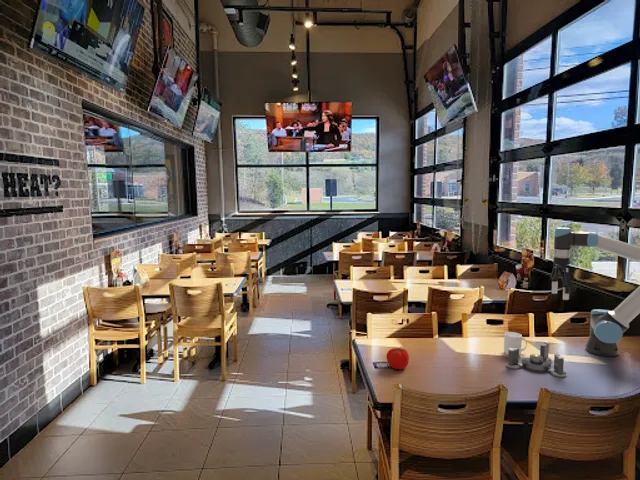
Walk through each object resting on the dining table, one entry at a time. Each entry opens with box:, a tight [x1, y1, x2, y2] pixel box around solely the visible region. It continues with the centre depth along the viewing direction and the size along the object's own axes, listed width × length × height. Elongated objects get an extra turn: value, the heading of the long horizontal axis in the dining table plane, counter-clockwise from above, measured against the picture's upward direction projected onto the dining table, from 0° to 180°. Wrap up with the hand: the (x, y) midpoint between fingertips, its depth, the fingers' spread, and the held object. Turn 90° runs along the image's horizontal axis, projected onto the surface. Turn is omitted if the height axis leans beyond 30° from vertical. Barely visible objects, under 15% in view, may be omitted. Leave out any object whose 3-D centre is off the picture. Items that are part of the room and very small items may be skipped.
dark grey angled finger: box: [507, 347, 520, 366], centre depth 218 cm, size 6×2×8 cm, turn 125°
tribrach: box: [505, 353, 567, 378], centre depth 217 cm, size 25×24×6 cm
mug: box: [503, 331, 528, 356], centre depth 235 cm, size 9×12×11 cm
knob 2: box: [539, 340, 550, 360], centre depth 224 cm, size 6×2×8 cm, turn 134°
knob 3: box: [553, 353, 565, 374], centre depth 207 cm, size 6×2×8 cm, turn 171°
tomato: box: [385, 347, 410, 370], centre depth 219 cm, size 11×13×10 cm
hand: (559, 296), depth 230 cm, fingers open, 13 cm apart
